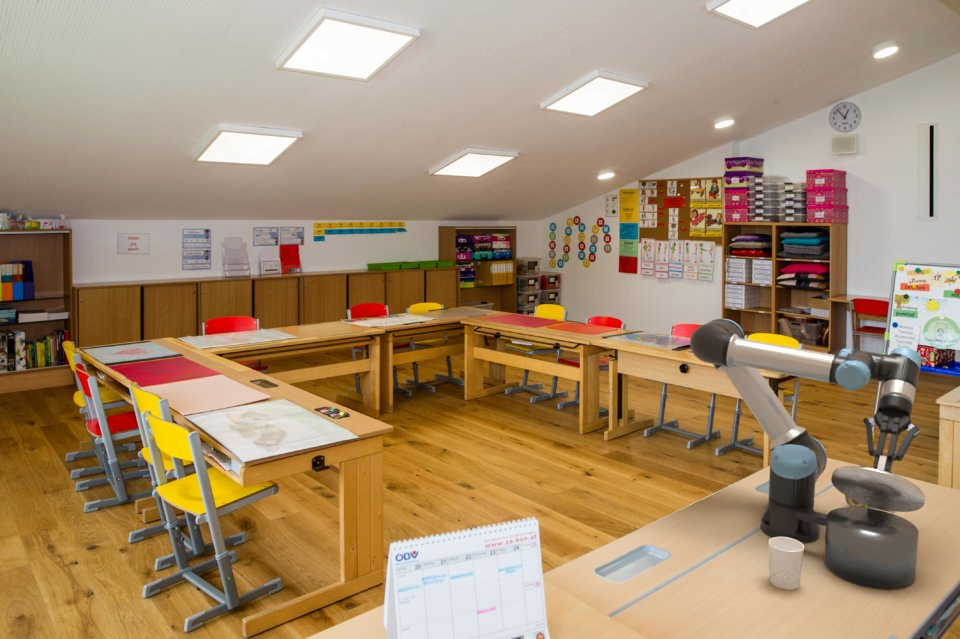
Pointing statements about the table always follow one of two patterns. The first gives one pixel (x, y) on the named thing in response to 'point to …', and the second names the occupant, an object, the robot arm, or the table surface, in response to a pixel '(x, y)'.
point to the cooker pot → (868, 546)
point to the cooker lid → (878, 489)
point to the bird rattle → (854, 503)
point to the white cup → (785, 562)
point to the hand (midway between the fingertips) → (878, 481)
